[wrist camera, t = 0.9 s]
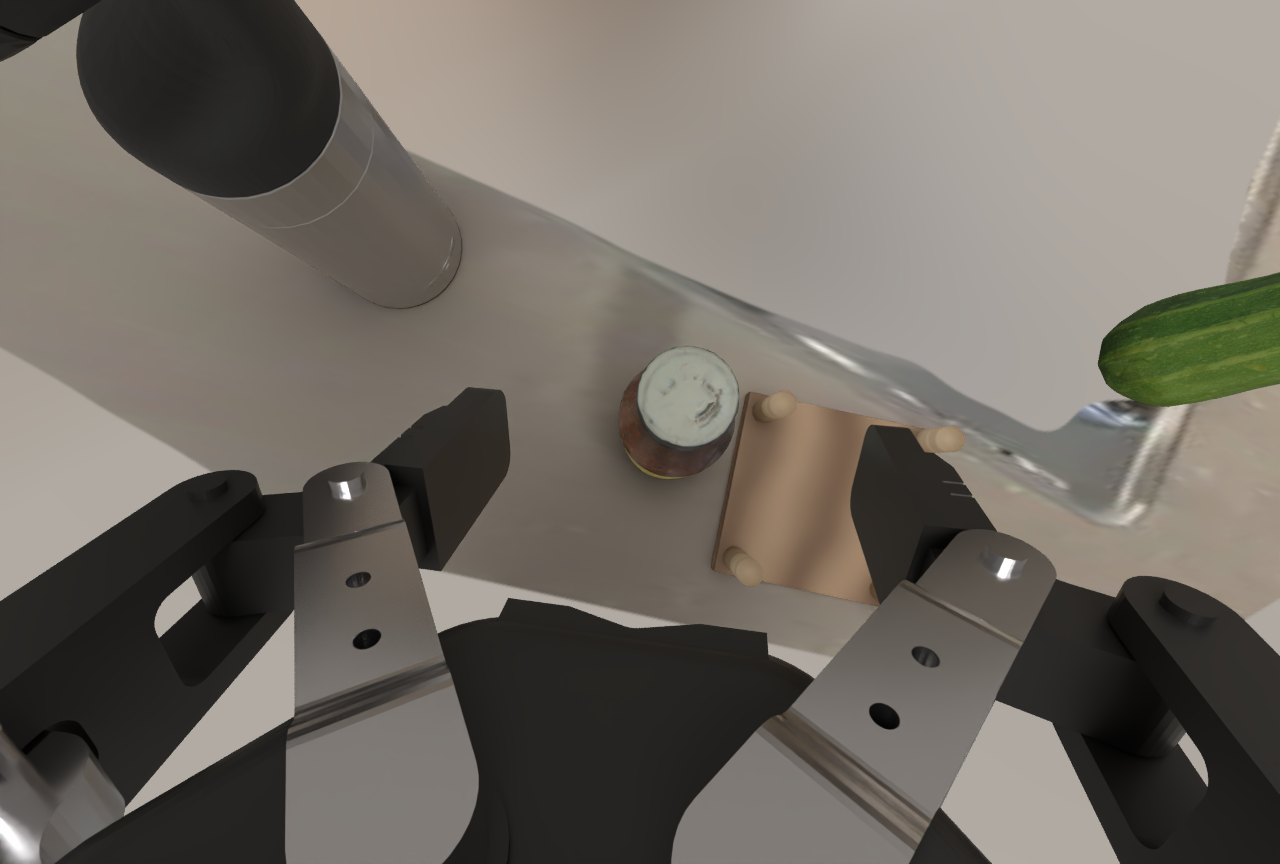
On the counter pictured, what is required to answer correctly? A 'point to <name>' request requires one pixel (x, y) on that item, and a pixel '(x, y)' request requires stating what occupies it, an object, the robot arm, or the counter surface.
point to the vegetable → (1197, 345)
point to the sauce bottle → (679, 413)
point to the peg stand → (801, 497)
